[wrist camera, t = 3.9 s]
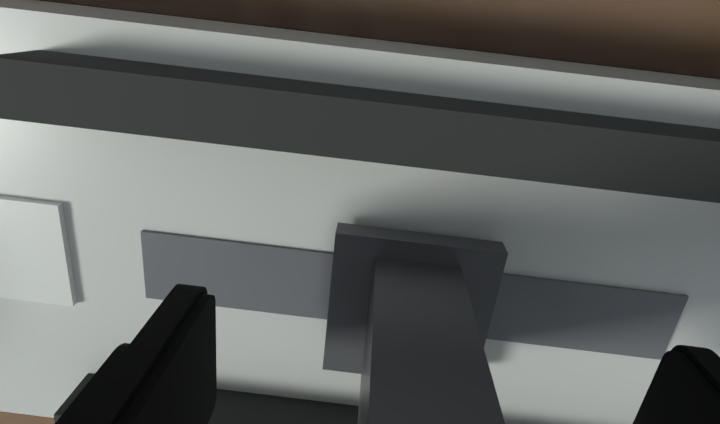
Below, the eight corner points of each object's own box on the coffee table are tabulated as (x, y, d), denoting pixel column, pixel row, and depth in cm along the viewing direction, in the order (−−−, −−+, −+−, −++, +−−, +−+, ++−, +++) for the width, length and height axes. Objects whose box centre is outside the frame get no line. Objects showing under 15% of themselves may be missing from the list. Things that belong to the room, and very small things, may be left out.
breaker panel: (-9, -6, 14) (-159, -11, 10) (878, 97, 14) (1068, 131, 10) (51, 329, 19) (-36, 412, 15) (714, 409, 19) (800, 514, 15)
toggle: (338, 222, 12) (262, 545, 5) (502, 241, 12) (677, 595, 5) (325, 354, 13) (254, 743, 6) (470, 371, 13) (564, 783, 6)
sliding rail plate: (39, 49, 11) (-16, 56, 9) (848, 144, 11) (923, 165, 9) (92, 403, 15) (59, 447, 13) (676, 474, 15) (708, 527, 13)
